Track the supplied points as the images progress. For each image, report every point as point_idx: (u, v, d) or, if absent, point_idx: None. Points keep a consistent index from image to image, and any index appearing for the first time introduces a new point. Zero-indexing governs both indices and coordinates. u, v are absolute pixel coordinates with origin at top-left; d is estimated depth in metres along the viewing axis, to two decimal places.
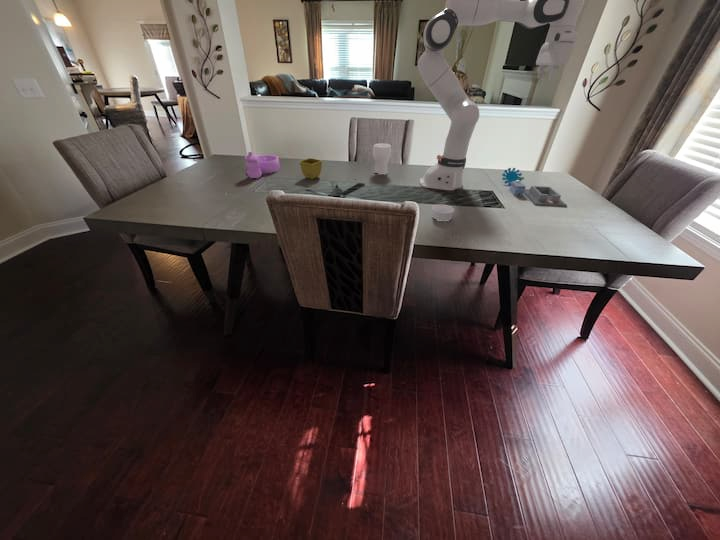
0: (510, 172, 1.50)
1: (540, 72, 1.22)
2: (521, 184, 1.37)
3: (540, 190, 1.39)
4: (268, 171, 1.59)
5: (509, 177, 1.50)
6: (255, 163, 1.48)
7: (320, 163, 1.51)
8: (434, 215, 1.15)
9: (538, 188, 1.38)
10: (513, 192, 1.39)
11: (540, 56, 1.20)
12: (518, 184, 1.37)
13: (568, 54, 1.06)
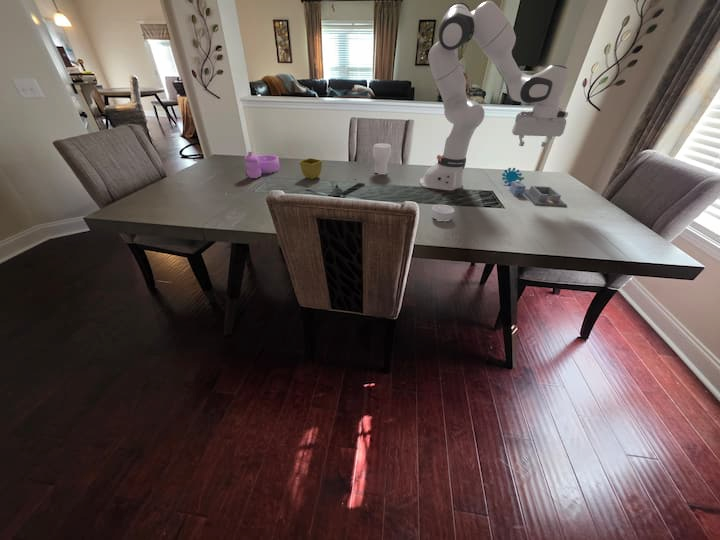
0: (510, 172, 1.50)
1: (522, 141, 1.27)
2: (521, 184, 1.37)
3: (540, 190, 1.39)
4: (268, 171, 1.59)
5: (509, 177, 1.50)
6: (255, 163, 1.48)
7: (320, 163, 1.51)
8: (434, 215, 1.15)
9: (538, 188, 1.38)
10: (513, 192, 1.39)
11: (523, 128, 1.23)
12: (518, 184, 1.37)
13: None
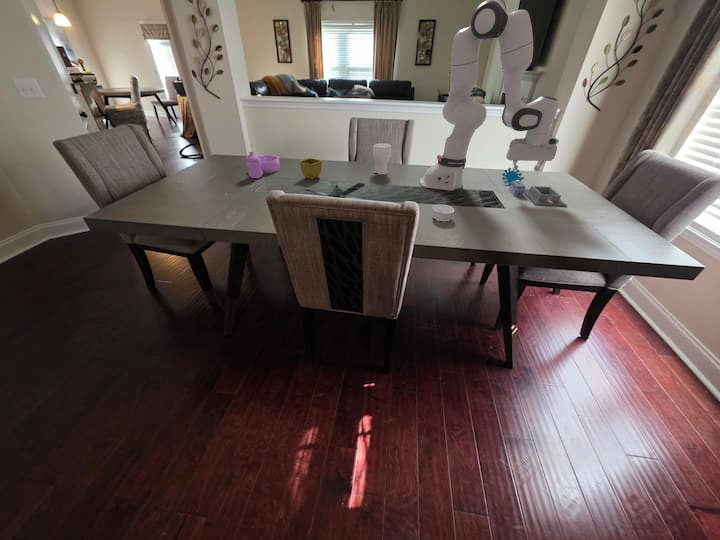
0: (510, 172, 1.50)
1: None
2: (521, 184, 1.37)
3: (540, 190, 1.39)
4: (269, 171, 1.60)
5: (509, 177, 1.50)
6: (256, 163, 1.48)
7: (320, 163, 1.51)
8: (434, 215, 1.15)
9: (538, 188, 1.38)
10: (513, 192, 1.39)
11: (517, 153, 1.29)
12: (518, 184, 1.37)
13: None
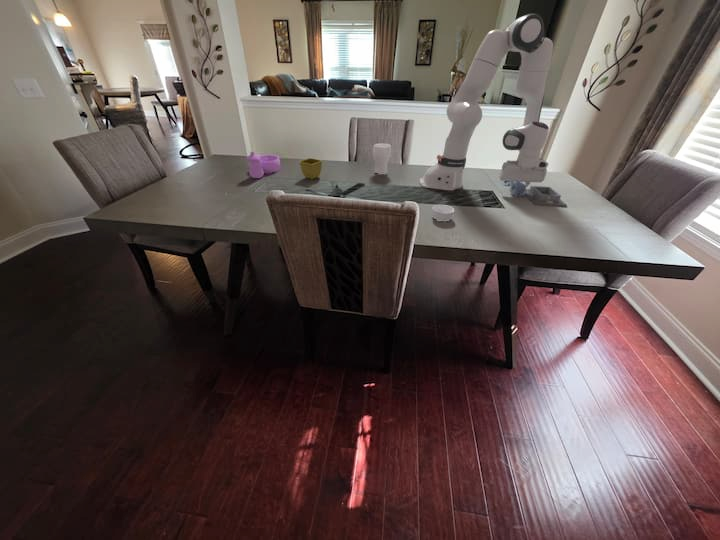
0: None
1: None
2: (521, 184, 1.37)
3: (540, 190, 1.39)
4: (270, 171, 1.60)
5: None
6: (257, 163, 1.49)
7: (320, 163, 1.51)
8: (434, 215, 1.15)
9: (538, 188, 1.38)
10: (513, 192, 1.39)
11: (509, 174, 1.35)
12: (518, 184, 1.37)
13: None
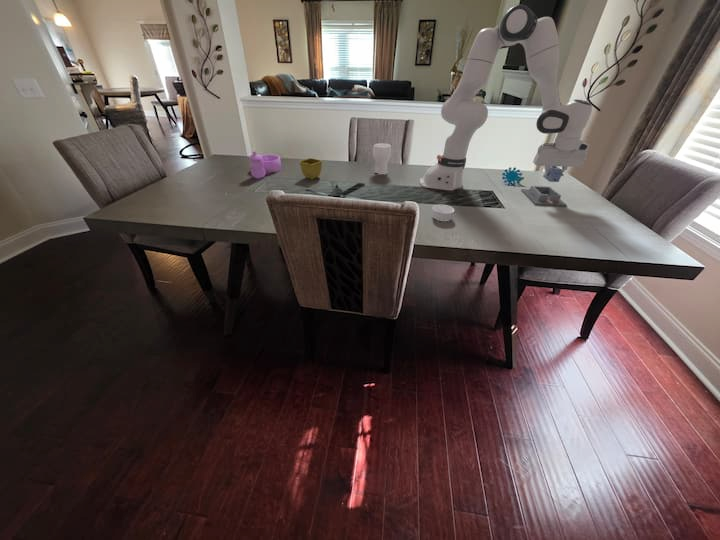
0: (510, 172, 1.51)
1: None
2: (558, 169, 1.27)
3: (540, 190, 1.39)
4: (271, 170, 1.60)
5: (509, 176, 1.50)
6: (260, 163, 1.49)
7: (320, 163, 1.51)
8: (434, 215, 1.15)
9: (538, 188, 1.38)
10: (549, 178, 1.29)
11: (545, 159, 1.24)
12: (554, 169, 1.27)
13: None
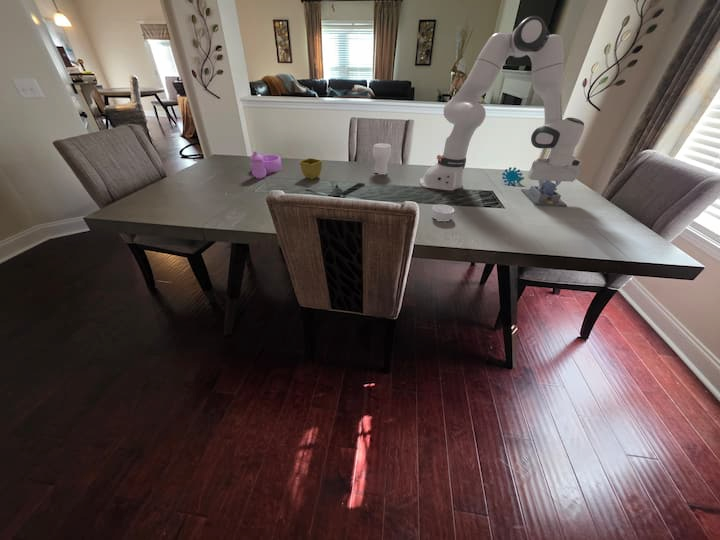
0: (510, 171, 1.51)
1: None
2: (551, 183, 1.31)
3: None
4: (272, 170, 1.60)
5: (509, 176, 1.50)
6: (261, 163, 1.49)
7: (320, 163, 1.51)
8: (434, 215, 1.15)
9: None
10: (543, 191, 1.33)
11: (539, 173, 1.28)
12: (548, 183, 1.31)
13: None
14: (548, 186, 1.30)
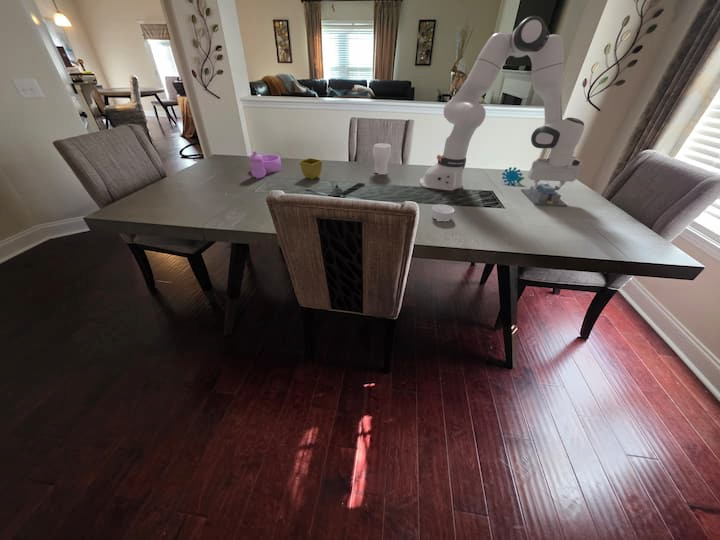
0: (510, 171, 1.51)
1: None
2: (550, 187, 1.32)
3: None
4: (271, 170, 1.61)
5: (509, 176, 1.50)
6: (260, 162, 1.49)
7: (320, 163, 1.51)
8: (434, 215, 1.15)
9: None
10: None
11: (539, 173, 1.28)
12: (547, 187, 1.32)
13: None
14: (547, 190, 1.31)
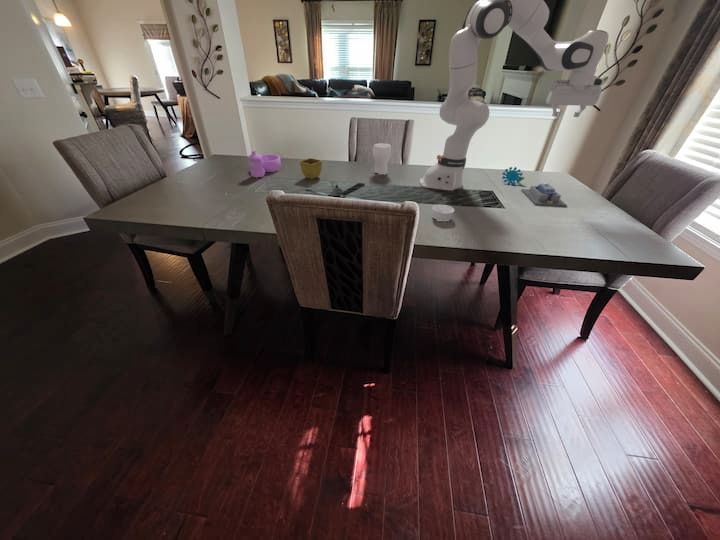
0: (511, 171, 1.51)
1: None
2: (550, 187, 1.32)
3: None
4: (271, 170, 1.61)
5: (509, 176, 1.51)
6: (259, 162, 1.49)
7: (320, 163, 1.51)
8: (434, 215, 1.15)
9: None
10: None
11: (559, 97, 1.23)
12: (547, 187, 1.32)
13: None
14: (547, 190, 1.31)
